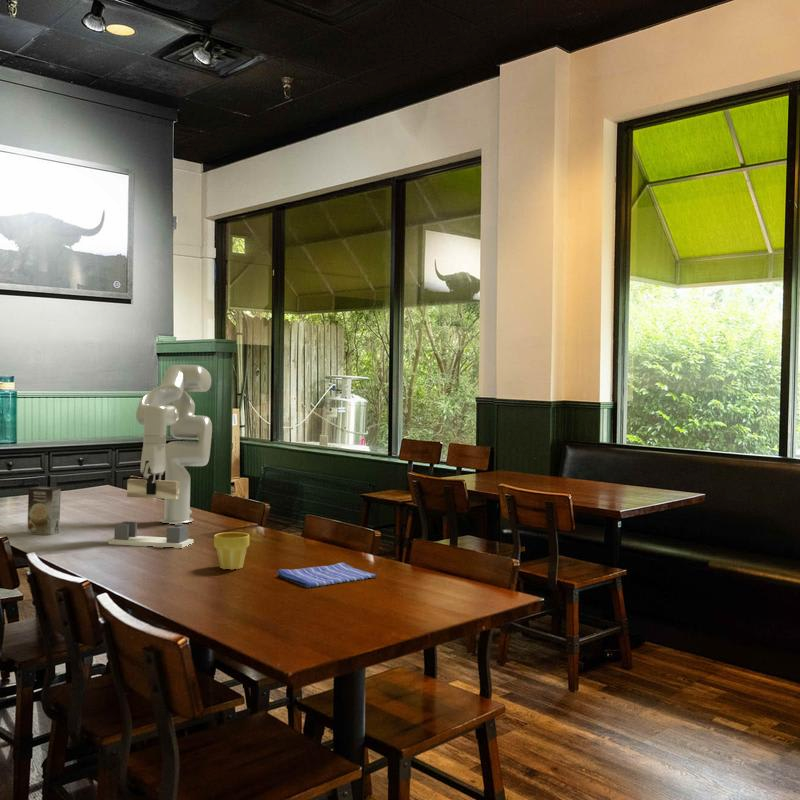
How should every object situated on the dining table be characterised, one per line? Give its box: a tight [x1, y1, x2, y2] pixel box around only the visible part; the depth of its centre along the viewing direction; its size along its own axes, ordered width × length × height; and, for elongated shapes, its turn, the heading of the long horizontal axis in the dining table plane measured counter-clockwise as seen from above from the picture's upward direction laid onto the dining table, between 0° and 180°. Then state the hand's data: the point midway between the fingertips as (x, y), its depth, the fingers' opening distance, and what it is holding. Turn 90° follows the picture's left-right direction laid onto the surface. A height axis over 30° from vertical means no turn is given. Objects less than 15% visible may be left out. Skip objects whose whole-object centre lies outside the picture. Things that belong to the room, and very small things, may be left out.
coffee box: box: [26, 485, 62, 536], centre depth 284 cm, size 9×6×16 cm
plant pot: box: [213, 531, 251, 571], centre depth 239 cm, size 10×10×10 cm
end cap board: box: [108, 520, 194, 549], centre depth 271 cm, size 9×26×6 cm, turn 81°
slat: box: [126, 478, 180, 500], centre depth 278 cm, size 2×18×6 cm, turn 81°
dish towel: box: [276, 562, 377, 589], centre depth 231 cm, size 17×24×3 cm
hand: (153, 493), depth 278 cm, fingers closed on slat, 2 cm apart
